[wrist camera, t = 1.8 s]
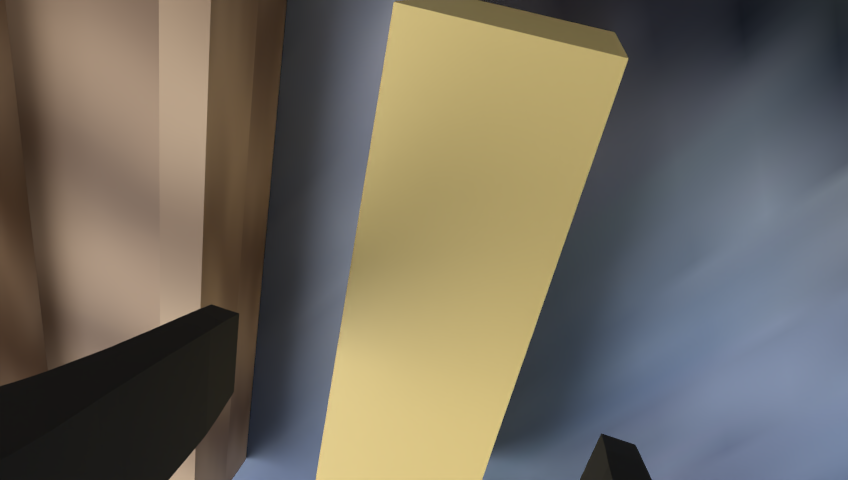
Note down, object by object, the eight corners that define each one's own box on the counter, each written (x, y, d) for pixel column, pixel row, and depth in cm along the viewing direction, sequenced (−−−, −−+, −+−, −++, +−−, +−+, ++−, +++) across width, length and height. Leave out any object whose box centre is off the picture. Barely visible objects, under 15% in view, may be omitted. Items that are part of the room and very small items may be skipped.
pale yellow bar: (475, 452, 20) (444, 586, 16) (365, 414, 21) (306, 534, 16) (614, 31, 14) (629, 58, 9) (452, -7, 14) (393, 2, 10)
